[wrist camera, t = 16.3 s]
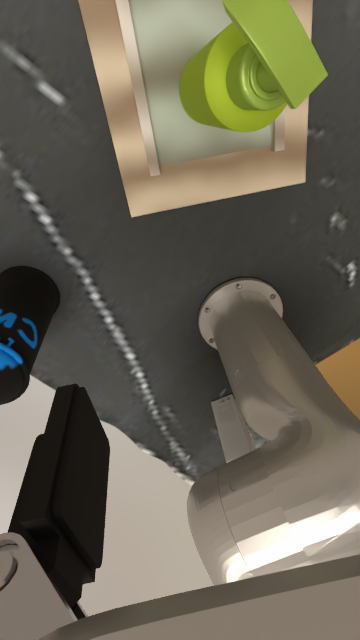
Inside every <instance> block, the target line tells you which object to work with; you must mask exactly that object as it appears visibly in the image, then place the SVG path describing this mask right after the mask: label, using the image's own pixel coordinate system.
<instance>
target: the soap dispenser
mask: <svg viewBox="0 0 360 640" xmlns="http://www.w3.org/2000/svg"><path fill="white" fill-rule="evenodd" d="M223 5H224V8H225V11H226V13H227V15H228V16H229V18H230V19H231V20H232V23H231V24H229V25H228V26H227V27H226V28H225V29H224V30H222V31H221V32H220V33H219V34H218V35H217V36H216V37H214V38H213V39H212V40H211V41H210V42H209V43H208V44H206V45H205V46H204V47H203V48H202V49H201V50H200V51H198V52H197V53H196V54H195V55H194V56H193V57H192V58H191V59H190V60H189V61H188V62H187V64H186V65H185V67H184V69H183V71H182V74H181V77H180V83H179V95H180V100H181V103H182V106H183V108H184V110H185V111H186V113H187V114H188V115H189V117H190V118H192V119H193V120H194V121H196V122H198V123H200V124H204V125H209V126H213V127H218V128H223V129H227V130H232V131H237V132H253V131H257V130H260V129H262V128H264V127H266V126H268V125H269V124H270V123H272V122H273V121H274V120H275V119H276V118H277V117H278V116H279V115H280V114H281V113H282V111H283V110H284V108H285V107H286V105H287V104H288V106H289V107H290V109H296V108H297V107H298V106H299V105H300V104H301V103H302V102H303V101H304V100H305V99H306V98H307V97H308V96H309V95H310V93H311V92H312V91H313V90H314V89H315V88H316V87H317V86H318V85H319V84H320V83H321V82H322V81H323V80H324V79H325V78H326V77H327V76H328V74H327V72H326V70H325V68H324V66H323V64H322V62H321V60H320V58H319V56H318V54H317V52H316V50H315V48H314V47H313V45H312V43H311V41H310V39H309V37H308V35H307V33H306V32H305V30H304V28H303V26H302V24H301V23H300V21H299V19H298V17H297V16H296V14H295V12H294V11H293V9H292V7H291V6H290V4H289V2H288V1H287V0H223Z"/></svg>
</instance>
